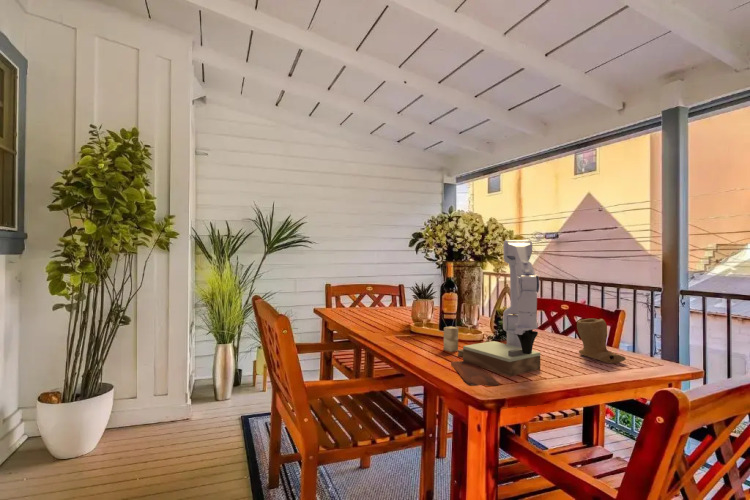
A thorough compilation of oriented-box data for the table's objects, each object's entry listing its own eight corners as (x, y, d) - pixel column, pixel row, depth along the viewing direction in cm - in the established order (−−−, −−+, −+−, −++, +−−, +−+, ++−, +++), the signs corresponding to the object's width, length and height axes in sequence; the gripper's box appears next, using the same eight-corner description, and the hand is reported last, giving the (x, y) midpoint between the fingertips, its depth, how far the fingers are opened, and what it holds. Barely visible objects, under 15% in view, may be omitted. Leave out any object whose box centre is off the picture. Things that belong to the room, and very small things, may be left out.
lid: (493, 343, 154) (493, 336, 154) (540, 355, 137) (540, 347, 137) (463, 348, 145) (463, 341, 145) (509, 362, 128) (509, 353, 128)
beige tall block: (450, 348, 165) (451, 326, 165) (457, 350, 161) (458, 328, 161) (443, 349, 162) (443, 327, 162) (450, 351, 159) (450, 328, 159)
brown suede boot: (569, 354, 158) (570, 315, 158) (597, 353, 159) (598, 315, 159) (596, 365, 143) (596, 322, 143) (626, 364, 144) (627, 322, 144)
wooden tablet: (501, 388, 119) (501, 382, 119) (468, 388, 119) (468, 382, 119) (475, 362, 146) (475, 358, 146) (447, 362, 146) (447, 358, 146)
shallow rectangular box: (478, 351, 160) (478, 340, 160) (540, 369, 137) (540, 355, 137) (448, 357, 151) (449, 344, 151) (509, 376, 128) (509, 362, 128)
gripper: (523, 308, 140) (523, 347, 140) (506, 312, 129) (505, 355, 129) (544, 310, 136) (544, 351, 136) (528, 315, 125) (527, 359, 125)
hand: (526, 353), depth 132 cm, fingers closed
